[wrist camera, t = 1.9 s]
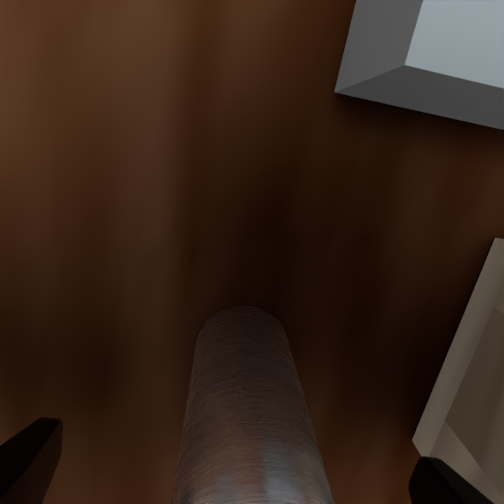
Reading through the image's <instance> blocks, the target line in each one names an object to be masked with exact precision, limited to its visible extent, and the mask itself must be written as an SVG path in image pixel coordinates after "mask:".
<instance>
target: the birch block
mask: <svg viewBox="0 0 504 504" xmlns="http://www.w3.org/2000/svg"><path fill="white" fill-rule="evenodd" d="M412 441H413V443H414V445H415V446H416V448H417V450H418V451H419V453H420V455H421V456H428V457H437V458H439V459H441V460H442V461H444V462H445V463H446V464H447V465H449V466H450V467H451V468H452V469H453V470H455V471H456V472H457V473H458V474H459V475H461V476H462V477H463V478H464V479H465V480H467V481H468V482H469V483H470V484H471V485H473V486H474V487H475V488H476V489H477V490H479V491H480V492H481V493H482V494H483V495H485V496H486V497H487V498H488V499H489V500H491V501H492V502H493V503H494V504H504V239H500V238H495V239H494V241H493V244H492V246H491V249H490V251H489V254H488V256H487V259H486V261H485V263H484V266H483V268H482V271H481V273H480V276H479V278H478V280H477V283H476V285H475V288H474V290H473V293H472V295H471V298H470V300H469V302H468V305H467V307H466V310H465V312H464V315H463V317H462V320H461V322H460V324H459V327H458V329H457V332H456V334H455V337H454V339H453V341H452V344H451V346H450V349H449V351H448V354H447V356H446V359H445V361H444V363H443V366H442V368H441V371H440V373H439V376H438V378H437V380H436V383H435V385H434V388H433V390H432V393H431V395H430V398H429V400H428V402H427V405H426V407H425V410H424V412H423V415H422V417H421V419H420V422H419V424H418V427H417V429H416V432H415V434H414V437H413V439H412Z"/></svg>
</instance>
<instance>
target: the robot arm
mask: <svg viewBox="0 0 504 504" xmlns="http://www.w3.org/2000/svg"><path fill="white" fill-rule="evenodd" d="M62 430H63V423H62V420H60V419H57V418H47V417H42V418H39V419H37V420H36V421H34V422H33V423H32V424H30V425H29V426H27V427H26V428H25V429H23V430H22V431H20V432H19V433H17V434H16V435H15V436H13V437H12V438H10V439H9V440H8V441H6V442H5V443H3V444H2V445H0V504H42V502H43V499H44V497H45V494H46V492H47V489H48V487H49V485H50V482H51V480H52V477H53V475H54V472H55V470H56V467H57V465H58V462H59V459H60V456H61V451H62ZM409 494H410V498H411V501H412V504H494V503H493V502H492V501H491V500H489V499H488V498H487V497H486V496H485V495H483V494H482V493H481V492H480V491H479V490H477V489H476V488H475V487H474V486H473V485H471V484H470V483H469V482H468V481H467V480H465V479H464V478H463V477H462V476H461V475H459V474H458V473H457V472H456V471H455V470H453V469H452V468H451V467H450V466H449V465H447V464H446V463H445V462H444V461H442V460H441V459H439V458H437V457H428V456H422V457H420V458H419V459H418V461H417V464H416V466H415V468H414V471H413V473H412V475H411V478H410V480H409Z"/></svg>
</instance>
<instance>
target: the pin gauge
mask: <svg viewBox="0 0 504 504" xmlns="http://www.w3.org/2000/svg"><path fill="white" fill-rule="evenodd" d="M171 504H335V503H334V499H333V496H332V492H331V489H330V485H329V482H328V478H327V475H326V471H325V468H324V464H323V461H322V457H321V454H320V450H319V447H318V443H317V440H316V436H315V433H314V429H313V426H312V422H311V419H310V415H309V412H308V408H307V405H306V401H305V398H304V394H303V391H302V387H301V384H300V380H299V377H298V373H297V370H296V366H295V363H294V359H293V356H292V352H291V349H290V345H289V342H288V338H287V335H286V332H285V330H284V328H283V326H282V324H281V323H280V322H279V321H278V319H277V318H275V317H274V316H273V315H272V314H270V313H269V312H267V311H265V310H263V309H260V308H257V307H252V306H235V307H230V308H227V309H224V310H222V311H220V312H218V313H216V314H214V315H213V316H212V317H210V318H209V319H208V320H207V321H206V323H205V324H204V325H203V326H202V328H201V330H200V332H199V334H198V337H197V342H196V348H195V354H194V361H193V367H192V374H191V380H190V387H189V393H188V400H187V406H186V413H185V419H184V425H183V432H182V438H181V445H180V451H179V458H178V464H177V471H176V477H175V483H174V490H173V496H172V503H171Z"/></svg>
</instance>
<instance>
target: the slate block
mask: <svg viewBox="0 0 504 504" xmlns="http://www.w3.org/2000/svg"><path fill="white" fill-rule="evenodd" d="M334 92H335V93H340V94H344V95H349V96H353V97H358V98H362V99H367V100H371V101H376V102H380V103H385V104H389V105H394V106H398V107H403V108H407V109H412V110H416V111H421V112H425V113H430V114H434V115H439V116H443V117H448V118H452V119H457V120H461V121H466V122H470V123H475V124H479V125H484V126H488V127H493V128H497V129H502V130H504V0H356V4H355V8H354V12H353V16H352V20H351V24H350V29H349V33H348V37H347V41H346V45H345V49H344V54H343V58H342V62H341V66H340V70H339V74H338V79H337V83H336V87H335V91H334Z"/></svg>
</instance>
